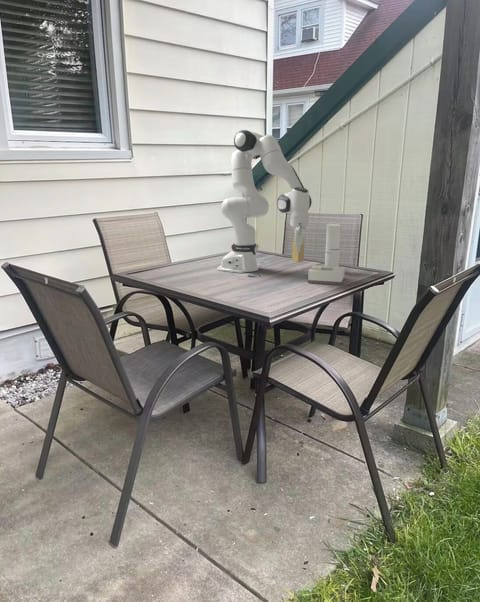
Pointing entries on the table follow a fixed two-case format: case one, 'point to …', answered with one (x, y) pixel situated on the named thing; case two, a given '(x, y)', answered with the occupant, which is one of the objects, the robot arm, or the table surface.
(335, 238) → the cylindrical container
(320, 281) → the socket block
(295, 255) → the brass peg
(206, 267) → the table surface
